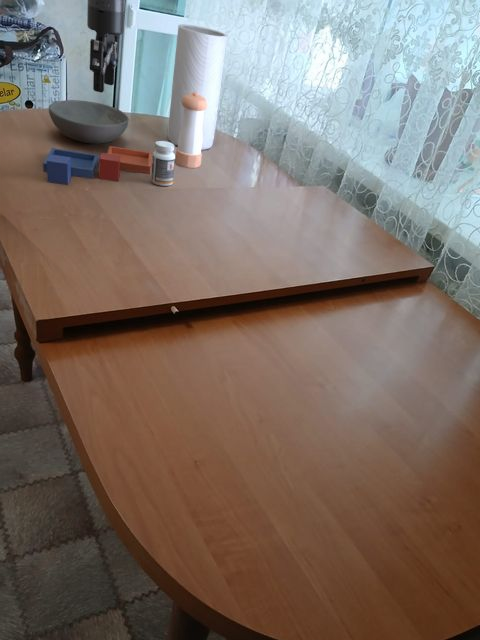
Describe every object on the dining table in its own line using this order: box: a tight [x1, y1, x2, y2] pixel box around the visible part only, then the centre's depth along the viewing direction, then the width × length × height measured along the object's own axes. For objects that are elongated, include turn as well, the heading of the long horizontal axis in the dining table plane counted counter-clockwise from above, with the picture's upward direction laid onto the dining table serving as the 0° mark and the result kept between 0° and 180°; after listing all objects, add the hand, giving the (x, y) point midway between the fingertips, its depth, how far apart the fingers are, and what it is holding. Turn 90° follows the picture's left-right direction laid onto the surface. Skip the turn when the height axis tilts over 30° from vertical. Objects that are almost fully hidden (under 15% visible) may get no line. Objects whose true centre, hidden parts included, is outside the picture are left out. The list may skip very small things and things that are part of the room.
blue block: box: [46, 154, 72, 185], centre depth 128 cm, size 5×5×5 cm
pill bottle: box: [150, 140, 176, 187], centre depth 138 cm, size 6×6×10 cm
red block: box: [98, 152, 121, 182], centre depth 136 cm, size 5×5×5 cm
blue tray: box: [42, 147, 100, 179], centre depth 137 cm, size 12×12×2 cm
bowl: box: [48, 99, 130, 145], centre depth 154 cm, size 21×21×8 cm
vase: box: [167, 23, 228, 151], centre depth 162 cm, size 14×14×32 cm
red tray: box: [106, 145, 153, 175], centre depth 147 cm, size 12×12×2 cm
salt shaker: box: [175, 92, 208, 169], centre depth 151 cm, size 7×7×19 cm
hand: (103, 87), depth 125 cm, fingers open, 8 cm apart
